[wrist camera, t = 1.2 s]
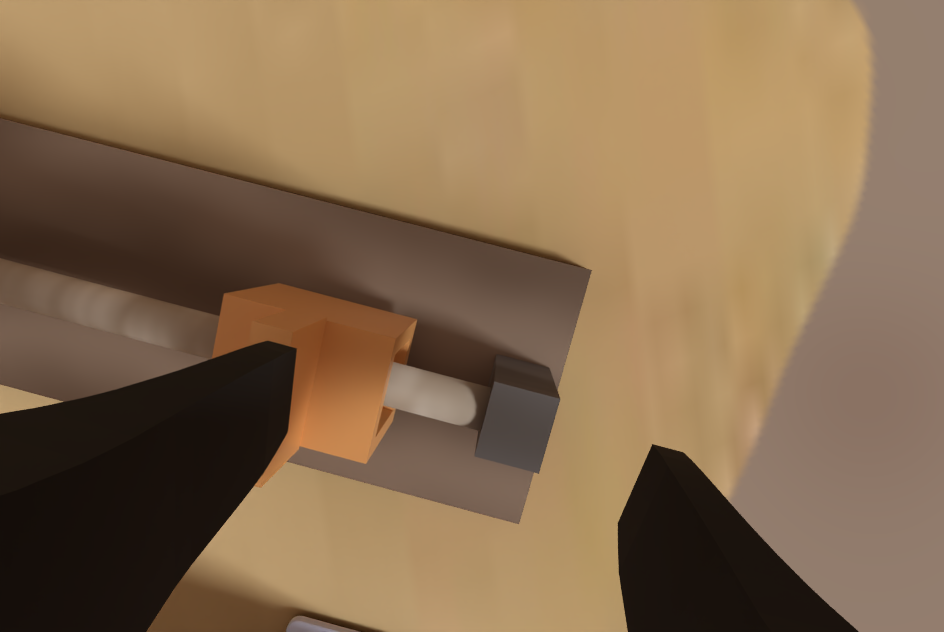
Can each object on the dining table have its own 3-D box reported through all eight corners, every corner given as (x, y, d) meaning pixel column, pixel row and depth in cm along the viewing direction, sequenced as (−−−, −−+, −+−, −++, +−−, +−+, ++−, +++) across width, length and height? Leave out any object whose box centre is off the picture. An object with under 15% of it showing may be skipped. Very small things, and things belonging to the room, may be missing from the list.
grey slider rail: (518, 509, 22) (522, 606, 16) (-134, 333, 23) (-357, 366, 17) (586, 268, 21) (619, 280, 15) (-112, 89, 21) (-349, 31, 16)
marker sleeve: (392, 423, 20) (339, 508, 13) (257, 388, 20) (143, 456, 14) (418, 316, 19) (375, 353, 13) (279, 280, 19) (170, 299, 13)
